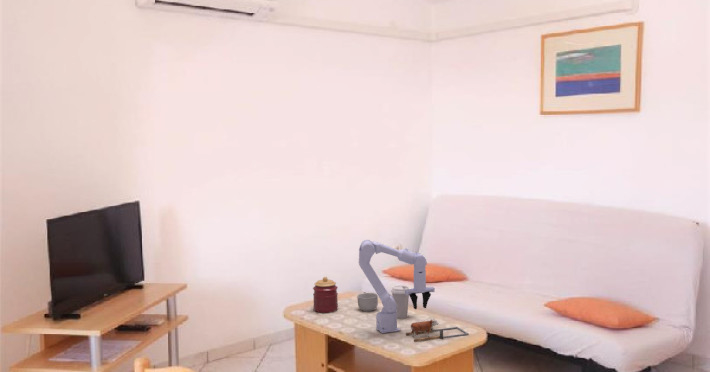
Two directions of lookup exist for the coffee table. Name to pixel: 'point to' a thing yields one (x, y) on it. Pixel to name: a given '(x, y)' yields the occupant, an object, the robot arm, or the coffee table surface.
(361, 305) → the teacup
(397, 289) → the coffee cup
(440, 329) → the pair of brown bars
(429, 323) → the bull figurine
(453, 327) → the frame
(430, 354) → the coffee table surface
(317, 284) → the canister
